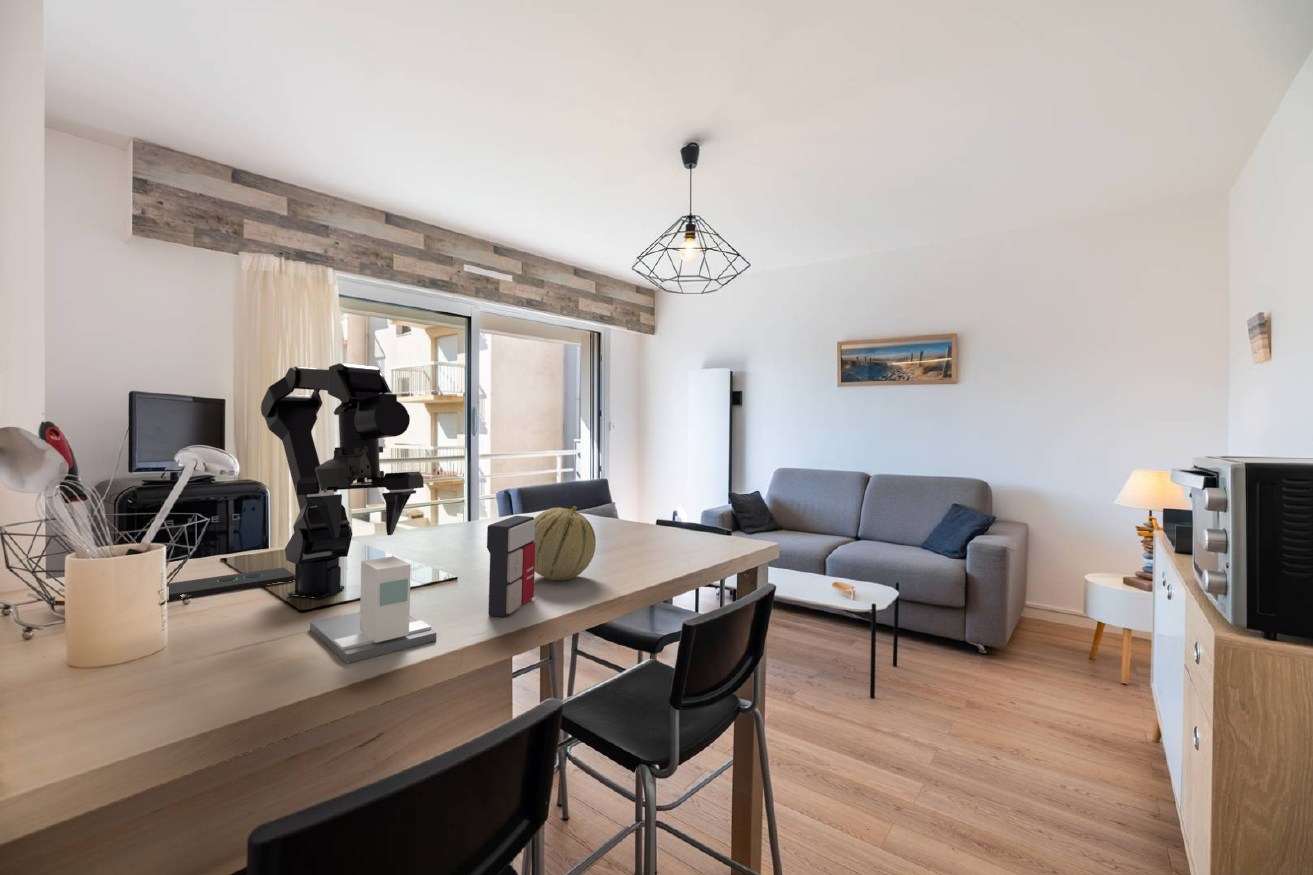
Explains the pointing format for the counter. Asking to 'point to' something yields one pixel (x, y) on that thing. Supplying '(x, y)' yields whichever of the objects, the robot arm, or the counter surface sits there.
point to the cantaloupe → (562, 543)
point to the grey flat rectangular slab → (365, 637)
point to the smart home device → (228, 583)
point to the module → (385, 598)
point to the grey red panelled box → (511, 564)
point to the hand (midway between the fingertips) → (362, 536)
